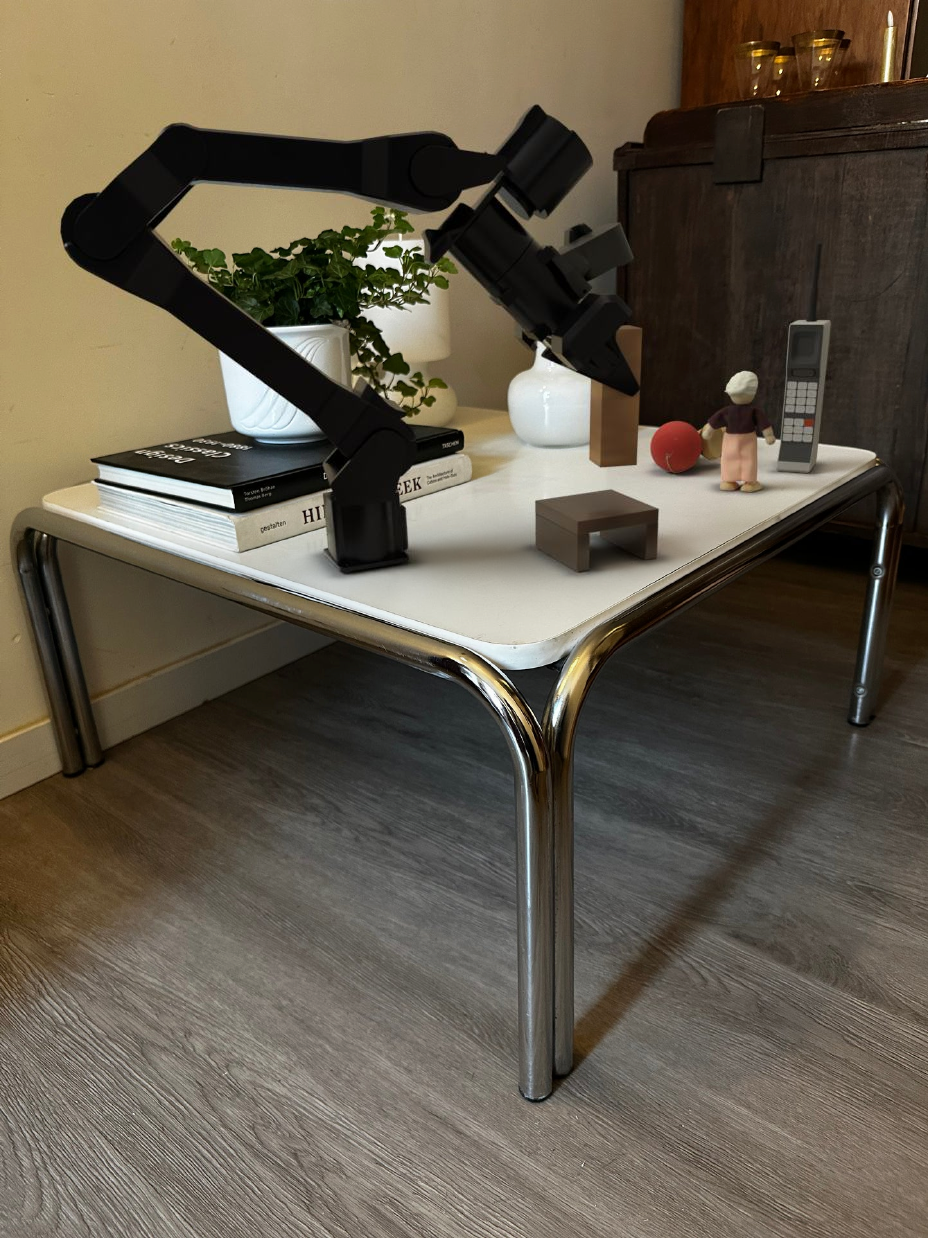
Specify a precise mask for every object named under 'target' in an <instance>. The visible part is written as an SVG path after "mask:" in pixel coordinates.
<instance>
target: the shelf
mask: <svg viewBox="0 0 928 1238" xmlns="http://www.w3.org/2000/svg"><path fill="white" fill-rule="evenodd" d="M534 509H535V510H534V512H535V520H534V521H535V548H536V549H538V550H539V551H541V552H543V553H545V554H547V555H548V556H550V557H551V558H553V559H554V560H556V561H558V562H560V563H561V564H563V565H565V566H566V567H568V568H570V569H572V570H573V571H574V572H577V573H580V572H587V571H590V540H591V539H590V538H591V536H590V535H591V534H593V533H599V537H600V538H601V539H603V540H605V541H607V542H609V543H611V544H613V545H615V546H617V547H619V548H621V549H623V550H624V551H626V552H629V553H631V554H633V555H634V556H637V557H639V558H641V559H643V560H645V561H647V560H648V561H649V560H652V559H658V544H659V543H658V540H659V514H660V509H659V508H658V507H655V506H653V505H650V504H648V503H645V502H644V501H641V500H638V499H636V498H633V497H631V496H629V495H626V494H624V493H621V492H619V491H616V490H614V489H611V488H610V489H604V490H603V489H602V490H597V491H590V492H583V493H576V494H570V495H562V496H556V497H549V498H543V499H536V500H534Z"/></svg>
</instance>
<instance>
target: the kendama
mask: <svg viewBox="0 0 928 1238" xmlns="http://www.w3.org/2000/svg"><path fill="white" fill-rule="evenodd" d="M707 424H708V423H706V424H704V426H702V428H701V429H699V430H697V428H695V427H694V426H693V425H692V424H690V423H688V422H685V421H680V420H673V421H669V422H667V423H666V422H665V423H664V424H663V425H661V426H660V427H659V428H657V430H656V431H655V432H654V434H653V436H651V441H650V444H649V446H650V455H651V458H652V460H653V462H654V463H655V465H657V466H658V467H659V468H660V469H661V470H663V471H666V472H669V473H674V474H680V473H681V472H685V471H687V470H689V469H691V468H692V467H694V465H695V464H696V463H697V462H698V461H699V459H700V457H701V456H702V457H703V458H704V459H705V460H707V461H716V460H718V459H719V458H721V455H722V444H723V437H724V433H725V431H726V427H723V428H719V429H716V430H715V431H714V432H713V433H712V437H711V438H710V439H704V438H703V436H702V434H703V432H704V431H705V430H706V426H707Z"/></svg>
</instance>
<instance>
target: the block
mask: <svg viewBox="0 0 928 1238" xmlns="http://www.w3.org/2000/svg"><path fill="white" fill-rule="evenodd" d="M616 341H617V343H618V345H619V348H620V350H621V352H622V353H623V355H624V357H625V359H626V361H627V363H628V365H629V367H630V369H631V370H632V372H633V374H634V376H635V378H636V380H637V382H638V384H639V386H640V387H641V371H642V370H641V369H642V346H643V344H642V341H643V328H642V327H638V326H633V325H630V324H629V325H626V324H625V325H622V326H621V327H620V328H619V329H618V330H617V332H616ZM640 392H641V389H640V390H639V391H638V392H637V393H636V394H635V396H633V397H631V396H628V395H626V394H624V393H622V392H619V391H617V390H615V389H613V388H610V387H608V386H606V385H604V384H601V383H599V382H597V381H595V380H592V379H590V396H589V397H590V400H589V401H590V402H589V446H588V448H589V449H588V450H589V451H588V460H589V461H590V462H592V463H593V464H594V465H596V466H598V468H616V467H628V466H629V467H631V466H637V465H638V445H639V421H640V394H641V393H640Z"/></svg>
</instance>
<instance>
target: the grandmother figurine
mask: <svg viewBox="0 0 928 1238" xmlns="http://www.w3.org/2000/svg"><path fill="white" fill-rule="evenodd" d="M758 385H759V380H758V377H757V374H756V373H754V372H751V371H747V370H742V371H741V372H737V373H735V375H733V376H732V377H731V378H730V379H729V382H728V383H727V384H726V387H725V390H724V393H726V394H727V395H728V396H730V400H731V401H732V402H733V405H728V406H724V407H723V408H721V409H719V410H718V411H716V412H714V414H713V415H712V416H710V418H708V419H707V423H706V424H707V426H706V430H705V431H704V432H703V434H702V436H703V438H704V439H710V438H711V437H712V433H713V432H714V431H715V430H716V429H719V428H723V427H726V431H725V433H724V437H723V444H722V453H721V455H720V467H721V468H720V480H721V481H722V482H721V483H720V484H719V488H720V490H722V491H732V492H733V491H736V489H738V488H739V483H738V482H744V483H743V485H741V487H740V491H741V492H748V493H752V492H753V493H754V492H756V491H759V490H761V489H762V487H763V486H762V484H761V482H760V481H758V435H757V433H756V427H757V428H758V429H759V430H760V432H761V433H762V435H763V437H764V438H765V443H766V445H769V446H772V445H774V444H776V441H777V438H776V436H775V435H774V430H773V427H772V423H771V422H770V420H769V418H768V416H767V415H766V414H765V412H763V410H761V409H760V408H759V407H757V406H754V405H751V404H750V403H752V402H753V400H754V399H755V396H756V394H757V389H758V388H759V387H758ZM749 404H750V405H749Z"/></svg>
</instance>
